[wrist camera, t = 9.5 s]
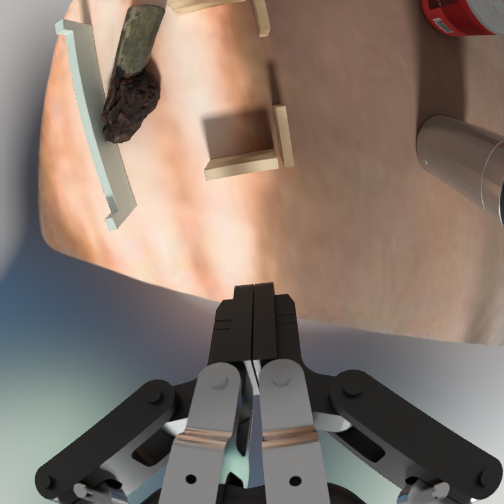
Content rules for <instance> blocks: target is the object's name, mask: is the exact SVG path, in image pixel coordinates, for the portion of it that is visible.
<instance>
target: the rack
mask: <svg viewBox="0 0 504 504" xmlns="http://www.w3.org/2000/svg"><path fill="white" fill-rule="evenodd" d="M55 27H56V34H59V35H66V43H67V50H68V57H69V63H70V69H71V74H72V80H73V85H74V89H75V94H76V99H77V103H78V107H79V111H80V115H81V119H82V123H83V127H84V131H85V134H86V138H87V141H88V145H89V148H90V152H91V155H92V158H93V161H94V164H95V167H96V170H97V174H98V176H99V179H100V182H101V185H102V188H103V191H104V194H105V196H106V199H107V202H108V205H109V207H110V210H111V213H110V214H109V216H108V217H107V218H106V219H105V221H106V224H107V226H108V229H109V231H111V230H115V229H118V227H119V226H120V225H121V224H122V223H123V221H124V220H125V219H126V218H127V217H128V215H129V214H130V213H131V212H132V211H133V210H134V208H135V207H136V206H137V204H136V201H135V199H134V196H133V193H132V190H131V187H130V184H129V181H128V178H127V174H126V171H125V168H124V165H123V162H122V158H121V155H120V152H119V148H118V145H117V144H113V143H112V142H110V141H107V142H105V134H104V133H102V132H103V127H104V126H105V124H104V122H103V121H102V120H101V114H103V108H104V106H105V102H106V99H105V94H104V90H103V85H102V81H101V76H100V71H99V66H98V61H97V55H96V49H95V43H94V37H93V30H92V26H91V25H87V24H83V23H79V22H74V21H70V20H65V19H62V20H61V21H59V22H58V23H56V24H55Z"/></svg>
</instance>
